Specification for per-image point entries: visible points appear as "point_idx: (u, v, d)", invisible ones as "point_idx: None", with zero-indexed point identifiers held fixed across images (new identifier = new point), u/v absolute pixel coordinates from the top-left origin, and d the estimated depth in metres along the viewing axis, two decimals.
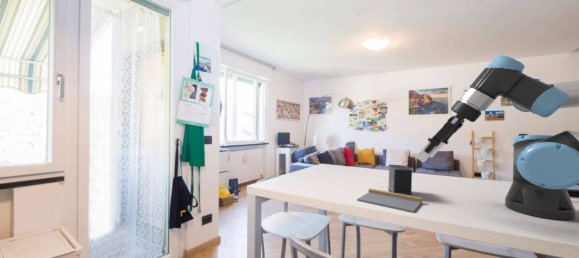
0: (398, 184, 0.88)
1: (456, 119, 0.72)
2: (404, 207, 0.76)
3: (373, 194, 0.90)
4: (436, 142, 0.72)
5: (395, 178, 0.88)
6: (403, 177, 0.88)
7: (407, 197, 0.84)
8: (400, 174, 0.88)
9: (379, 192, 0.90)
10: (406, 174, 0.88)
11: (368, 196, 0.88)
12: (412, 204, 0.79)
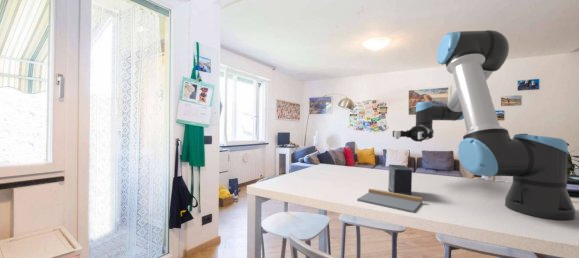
0: (398, 184, 0.88)
1: None
2: (404, 207, 0.76)
3: (373, 194, 0.90)
4: None
5: (395, 178, 0.88)
6: (403, 177, 0.88)
7: (407, 197, 0.84)
8: (400, 174, 0.88)
9: (379, 192, 0.90)
10: (406, 174, 0.88)
11: (368, 196, 0.88)
12: (412, 204, 0.79)
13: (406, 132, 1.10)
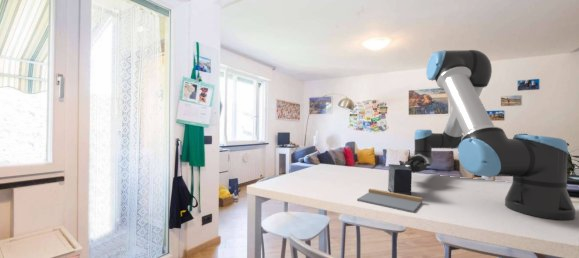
0: (398, 184, 0.88)
1: (399, 163, 1.14)
2: (404, 207, 0.76)
3: (373, 194, 0.90)
4: None
5: (395, 178, 0.88)
6: (403, 177, 0.88)
7: (407, 197, 0.84)
8: (400, 174, 0.88)
9: (379, 192, 0.90)
10: (406, 174, 0.87)
11: (368, 196, 0.88)
12: (412, 204, 0.79)
13: (409, 164, 1.07)
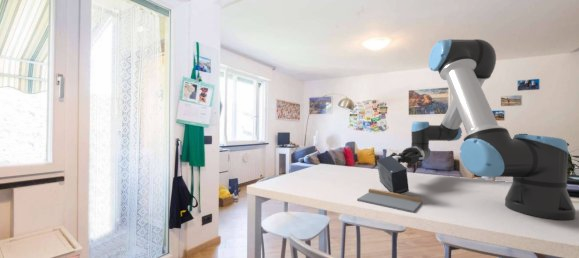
0: (396, 184, 0.87)
1: None
2: (404, 207, 0.76)
3: (373, 194, 0.90)
4: None
5: (393, 180, 0.86)
6: (400, 177, 0.86)
7: (407, 197, 0.84)
8: (397, 175, 0.86)
9: (379, 192, 0.90)
10: (402, 173, 0.86)
11: (368, 196, 0.88)
12: (412, 204, 0.79)
13: (401, 155, 1.05)
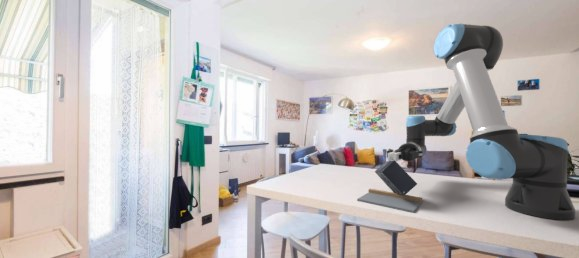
0: None
1: None
2: (404, 207, 0.76)
3: (373, 194, 0.90)
4: None
5: None
6: None
7: (407, 197, 0.84)
8: None
9: (379, 192, 0.90)
10: None
11: (368, 196, 0.88)
12: (412, 204, 0.79)
13: (398, 152, 0.96)
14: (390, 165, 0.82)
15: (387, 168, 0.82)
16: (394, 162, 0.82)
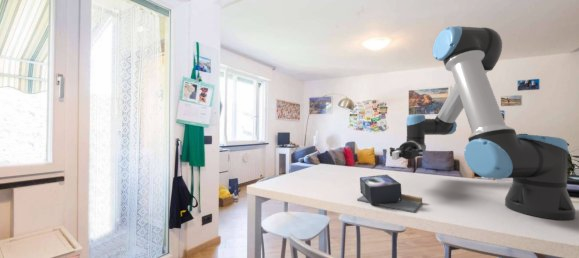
0: None
1: None
2: (404, 207, 0.76)
3: None
4: None
5: None
6: None
7: (407, 197, 0.84)
8: None
9: None
10: None
11: None
12: (412, 204, 0.79)
13: (401, 150, 0.98)
14: (371, 193, 0.79)
15: (372, 198, 0.79)
16: (371, 188, 0.79)
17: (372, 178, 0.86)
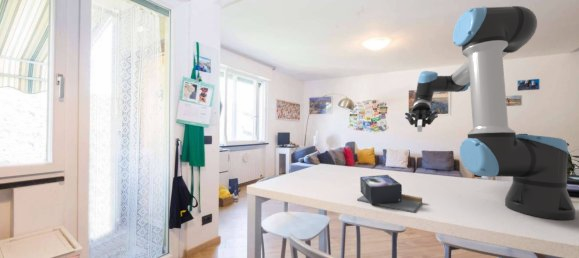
0: None
1: (405, 115, 1.10)
2: (404, 207, 0.76)
3: None
4: (410, 120, 1.02)
5: None
6: None
7: (407, 197, 0.84)
8: None
9: None
10: None
11: None
12: (412, 204, 0.79)
13: (418, 116, 1.04)
14: (372, 193, 0.79)
15: (372, 198, 0.79)
16: (372, 188, 0.79)
17: (372, 177, 0.86)
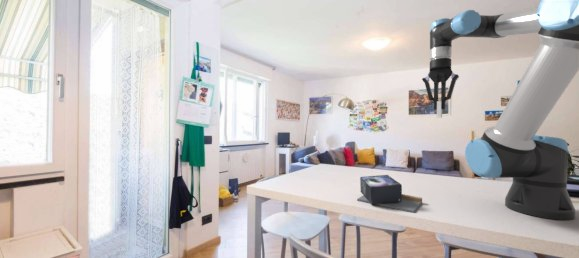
0: None
1: None
2: (404, 207, 0.76)
3: None
4: None
5: None
6: None
7: (407, 197, 0.84)
8: None
9: None
10: None
11: None
12: (412, 204, 0.79)
13: (437, 88, 1.00)
14: (372, 193, 0.79)
15: (372, 198, 0.79)
16: (372, 188, 0.79)
17: (372, 177, 0.86)
